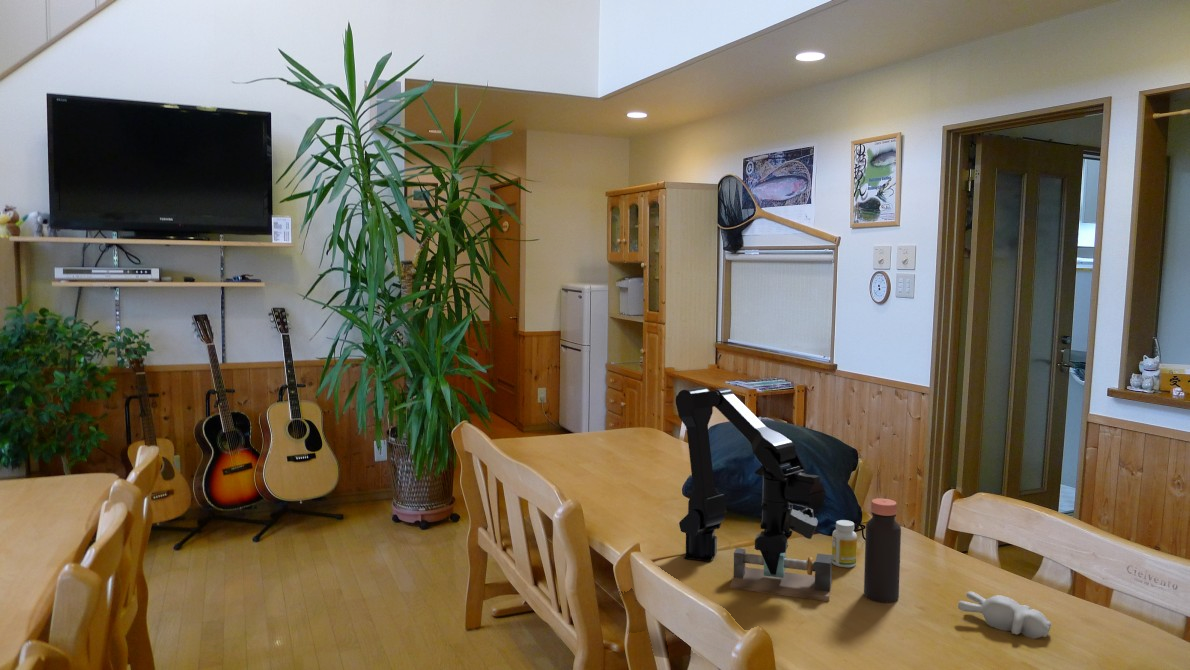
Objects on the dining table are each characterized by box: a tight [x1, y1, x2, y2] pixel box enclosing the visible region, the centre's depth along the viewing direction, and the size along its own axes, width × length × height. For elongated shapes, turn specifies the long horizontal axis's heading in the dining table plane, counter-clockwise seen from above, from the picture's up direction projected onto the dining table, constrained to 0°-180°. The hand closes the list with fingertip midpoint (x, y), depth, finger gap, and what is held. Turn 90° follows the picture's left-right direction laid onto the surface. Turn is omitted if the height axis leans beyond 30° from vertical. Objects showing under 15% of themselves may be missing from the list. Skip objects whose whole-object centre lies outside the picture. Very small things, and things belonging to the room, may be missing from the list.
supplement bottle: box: [831, 519, 858, 569], centre depth 182 cm, size 5×5×10 cm
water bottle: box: [863, 497, 902, 604], centre depth 163 cm, size 7×7×20 cm
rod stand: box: [730, 547, 833, 602], centre depth 170 cm, size 20×10×7 cm, turn 70°
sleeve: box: [763, 552, 787, 578], centre depth 170 cm, size 4×5×5 cm
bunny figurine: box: [957, 591, 1052, 639], centre depth 151 cm, size 10×5×15 cm
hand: (774, 569), depth 170 cm, fingers closed on sleeve, 5 cm apart
